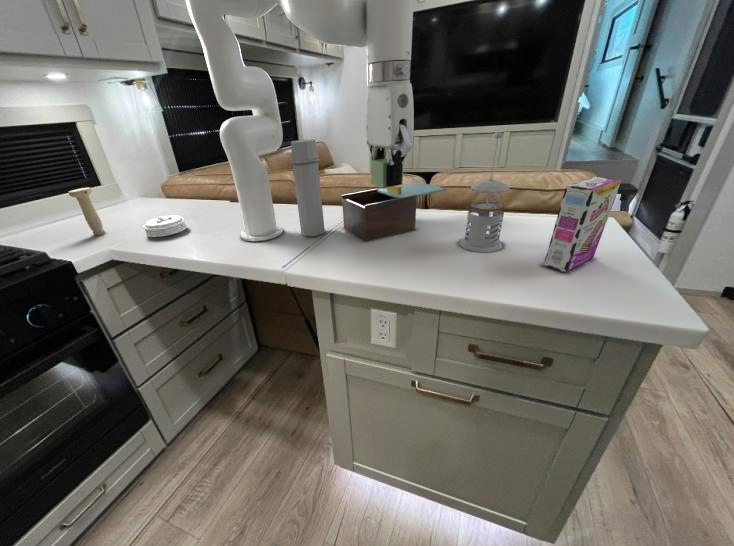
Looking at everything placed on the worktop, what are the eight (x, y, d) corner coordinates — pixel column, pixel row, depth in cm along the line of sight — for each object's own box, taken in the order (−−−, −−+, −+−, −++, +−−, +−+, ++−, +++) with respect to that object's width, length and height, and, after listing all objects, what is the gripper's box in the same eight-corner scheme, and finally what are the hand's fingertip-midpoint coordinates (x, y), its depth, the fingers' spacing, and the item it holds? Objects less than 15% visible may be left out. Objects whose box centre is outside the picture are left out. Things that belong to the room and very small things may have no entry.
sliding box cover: (377, 191, 99) (377, 182, 97) (418, 183, 104) (419, 175, 102) (401, 199, 89) (401, 190, 87) (446, 190, 93) (447, 181, 92)
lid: (194, 230, 110) (190, 215, 107) (157, 242, 102) (151, 226, 99) (176, 224, 117) (171, 210, 115) (140, 235, 109) (134, 220, 107)
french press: (452, 246, 81) (465, 134, 69) (472, 233, 89) (487, 128, 76) (493, 255, 75) (515, 134, 63) (511, 239, 82) (534, 128, 70)
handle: (86, 237, 113) (64, 192, 105) (102, 230, 118) (83, 187, 110) (96, 237, 111) (75, 192, 103) (112, 231, 116) (93, 187, 109)
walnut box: (343, 227, 100) (341, 195, 95) (388, 218, 105) (388, 186, 100) (366, 241, 89) (365, 205, 84) (415, 230, 94) (417, 195, 89)
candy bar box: (567, 274, 65) (594, 189, 57) (542, 266, 69) (563, 185, 61) (595, 258, 70) (623, 178, 62) (570, 252, 74) (594, 175, 66)
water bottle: (323, 237, 94) (313, 141, 81) (297, 237, 96) (283, 143, 83) (330, 227, 102) (322, 137, 89) (305, 227, 103) (294, 139, 91)
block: (371, 184, 68) (371, 160, 66) (390, 180, 70) (390, 157, 68) (382, 188, 65) (383, 163, 62) (402, 184, 66) (403, 160, 64)
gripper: (437, 70, 52) (427, 188, 62) (381, 79, 66) (381, 174, 75) (397, 72, 50) (393, 194, 59) (348, 80, 63) (351, 179, 73)
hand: (386, 182), depth 67 cm, fingers closed on block, 4 cm apart
